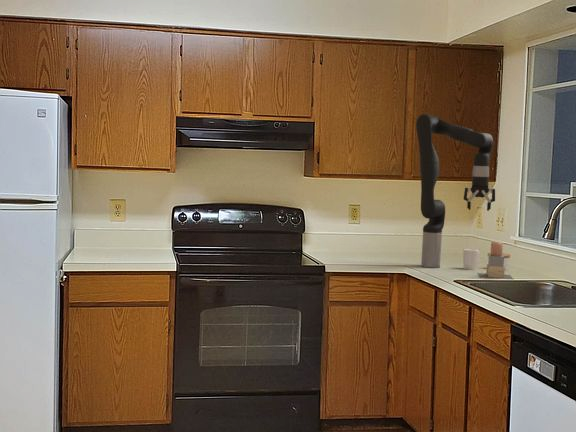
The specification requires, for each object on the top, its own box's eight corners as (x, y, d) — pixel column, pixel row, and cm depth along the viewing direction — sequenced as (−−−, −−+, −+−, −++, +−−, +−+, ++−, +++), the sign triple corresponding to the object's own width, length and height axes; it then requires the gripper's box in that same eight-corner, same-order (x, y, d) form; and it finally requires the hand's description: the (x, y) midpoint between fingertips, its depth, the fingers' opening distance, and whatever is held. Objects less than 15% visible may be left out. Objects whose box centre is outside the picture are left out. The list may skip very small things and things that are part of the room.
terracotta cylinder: (489, 254, 346) (490, 241, 345) (501, 255, 345) (502, 242, 344) (491, 256, 341) (491, 243, 340) (502, 256, 340) (503, 243, 339)
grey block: (488, 264, 347) (488, 254, 346) (501, 264, 346) (502, 255, 345) (489, 265, 341) (490, 256, 340) (503, 266, 340) (504, 256, 339)
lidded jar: (511, 269, 372) (512, 250, 371) (506, 272, 362) (507, 253, 362) (490, 267, 377) (491, 248, 376) (484, 269, 368) (485, 250, 367)
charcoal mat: (476, 274, 351) (476, 272, 351) (509, 276, 349) (509, 274, 349) (479, 279, 338) (480, 277, 338) (514, 281, 336) (514, 279, 336)
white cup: (458, 268, 367) (460, 248, 366) (472, 268, 370) (473, 248, 369) (468, 271, 360) (469, 251, 359) (482, 271, 362) (483, 250, 361)
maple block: (486, 274, 348) (487, 263, 347) (501, 275, 347) (502, 264, 346) (488, 276, 341) (488, 266, 340) (504, 277, 340) (504, 266, 339)
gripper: (495, 176, 353) (493, 210, 355) (464, 174, 355) (462, 208, 357) (497, 176, 346) (495, 211, 347) (465, 175, 348) (463, 210, 349)
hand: (478, 210), depth 352 cm, fingers open, 8 cm apart
